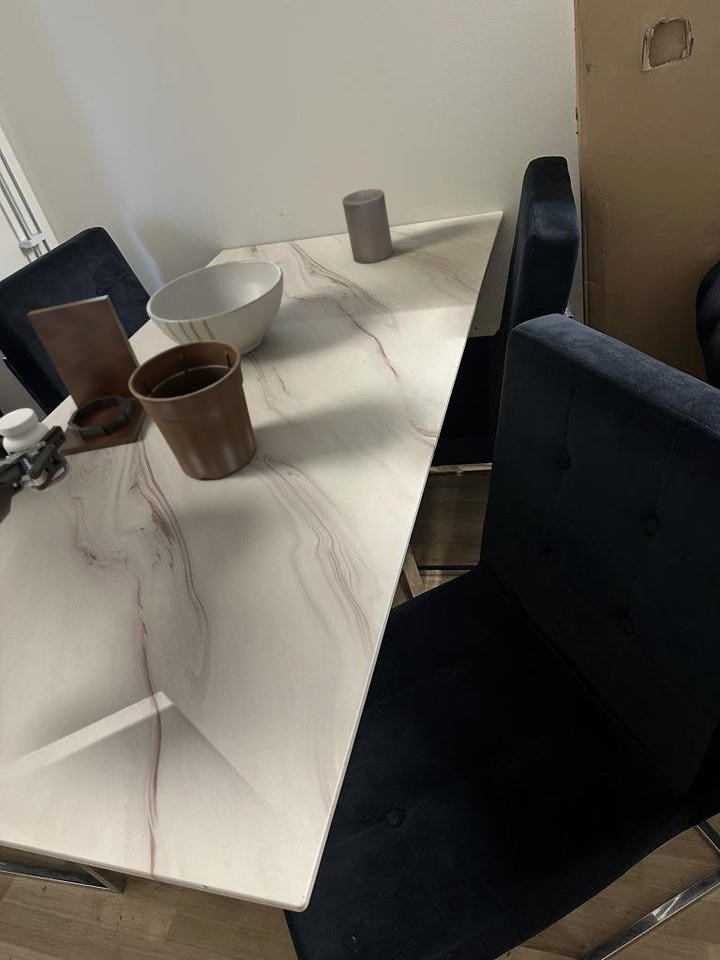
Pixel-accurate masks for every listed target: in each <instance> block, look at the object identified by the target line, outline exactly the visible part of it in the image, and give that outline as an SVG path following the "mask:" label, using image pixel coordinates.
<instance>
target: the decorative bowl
mask: <svg viewBox="0 0 720 960" xmlns="http://www.w3.org/2000/svg"><path fill="white" fill-rule="evenodd" d="M283 293H284V274H283V269H282V268H281V267H280V266H279V265H278V264H276V263H275V262H273V261H269V260H265V259H264V260H263V259H237V260H231V261H224V262H220V263H216V264H212V265H208V266H205V267H202V268H199V269H196V270H193V271H190V272H188V273H186V274H184V275H182V276H179V277H177V278H175V279H173V280H172V281H170V282H168V283H166V284H165V285H164V286H162V287H161V288H159V289H158V290H157V291H156V292H155V293H153V295H152V296H151V297H150V299H148V302H147V304H146V312H147V315H148V317H149V318H150V320H151V321H152V322H153V323H154V325H155V326H156V327H157V328H158V329H159V330H160V331H161V332H162V333H163V335H165V336H166V337H168V338H169V339H170V340H171V341H173V342H174V343H176V344H177V345H181V344H185V343H190V342H195V341H203V340H221V341H226V342H229V343H232V344H234V345H235V346H236V347H237V348H238V349H239V350H240V353H241V356H243V355H246V354H247V353H249V352H251V351H252V350H254V349H256V348H257V347H258V346H259V345H260V344H261V343H262V341H263V340H264V339H263V338H264V335H265V334H266V333H267V332H268V330H270V328H271V326H272V325H273V323H274V321H275V319H276V318H277V316H278V313H279V310H280V307H281V304H282V299H283Z"/></svg>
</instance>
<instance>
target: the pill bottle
mask: <svg viewBox="0 0 720 960" xmlns="http://www.w3.org/2000/svg"><path fill="white" fill-rule="evenodd" d="M38 420H39V417H38V416H37V414H36V413H35V410H34V409H32V408H30V407H24V408H23V407H22V408H18V409H16V410H13V411H11V412H8V413H6V414H5V415H2V417H0V436H2V437H3V436H5V437H4V440H3V446H4V448H5V450H6V452H7V453H8V455H9V456H8V457H10V456H12V455H13V454H15V453H16V452H18V451H20V450H22V449H23V450H28V449H30V448H31V447H33V446H34V445H36V444H37V443H39V441H40V440H41V439H42V438H43V437H44V436H45V435H46V433H47V432H48V431H49V430H50V428H49V427H48V426H47V425H46V424H45V423H43V422H39V421H38ZM57 451H58V452H59V454H60V456H61V457H62V459H63V463H62V465H61V466H60V468H59V469H58V471H57V472H56V474H55V475H54V477H53V479H52V480H51V482H50V483H49V485H48V486H47V488H46V489H44V490H41V491H38V490H37V488H36V487H35V485H34V486H28V488H29V489H30V490H31V491H33V492H37V493H41V492H43V493H44V492H48V491H51V490H54V489H56V488H58V487H59V486H62V485H63V484H64V483H65V482H66V481H67V480H68V479H69V478H70V476H71V474H72V467H71V465H70V463H69V462H68V460H67V458H66V457H65V456H66V455H63V453H62V451H61V449H60V448H59V449H58V450H57ZM39 456H40V453H39V452H38V453H37V454H35V455H34V456H33V459H34V461H35V462H36V460H37V459H38V457H39ZM20 462H21V464H22V465H23V467H24V468H25V471H26V472H27V471H28V467H27V465H26V463H25V462H24V460H23V459H22V460H20Z"/></svg>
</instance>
